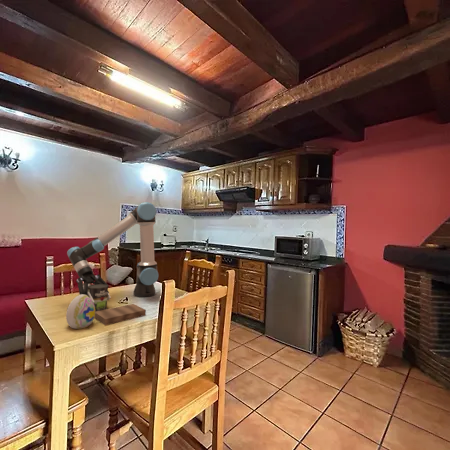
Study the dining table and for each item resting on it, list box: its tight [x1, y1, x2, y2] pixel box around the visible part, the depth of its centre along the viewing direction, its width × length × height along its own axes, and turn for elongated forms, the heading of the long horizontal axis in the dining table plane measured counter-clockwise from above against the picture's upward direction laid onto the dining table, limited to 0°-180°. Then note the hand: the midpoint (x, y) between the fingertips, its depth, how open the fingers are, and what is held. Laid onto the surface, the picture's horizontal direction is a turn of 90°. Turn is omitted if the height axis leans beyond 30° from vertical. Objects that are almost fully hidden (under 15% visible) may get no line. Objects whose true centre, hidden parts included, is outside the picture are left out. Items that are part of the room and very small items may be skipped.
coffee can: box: [88, 284, 109, 312], centre depth 146 cm, size 10×10×14 cm
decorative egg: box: [65, 294, 95, 330], centre depth 125 cm, size 12×12×15 cm
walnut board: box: [94, 303, 147, 326], centre depth 139 cm, size 22×14×3 cm, turn 138°
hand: (101, 301), depth 145 cm, fingers closed on coffee can, 10 cm apart
